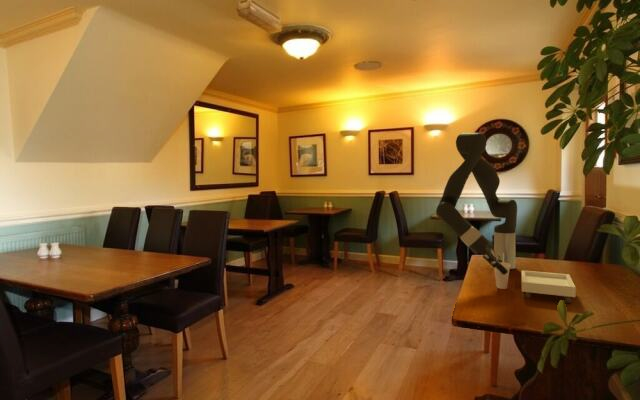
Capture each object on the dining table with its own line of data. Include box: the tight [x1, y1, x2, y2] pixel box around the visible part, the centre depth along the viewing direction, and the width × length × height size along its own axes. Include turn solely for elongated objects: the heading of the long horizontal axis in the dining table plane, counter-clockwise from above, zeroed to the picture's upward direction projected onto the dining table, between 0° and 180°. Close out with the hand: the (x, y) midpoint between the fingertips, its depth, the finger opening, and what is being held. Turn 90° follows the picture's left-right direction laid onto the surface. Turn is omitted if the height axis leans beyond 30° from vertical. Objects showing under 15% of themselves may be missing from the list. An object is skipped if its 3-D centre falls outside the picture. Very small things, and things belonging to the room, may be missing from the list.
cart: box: [520, 270, 577, 304], centre depth 137 cm, size 18×16×6 cm
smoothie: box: [493, 253, 511, 290], centre depth 148 cm, size 6×6×14 cm
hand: (506, 271), depth 147 cm, fingers closed on smoothie, 6 cm apart
